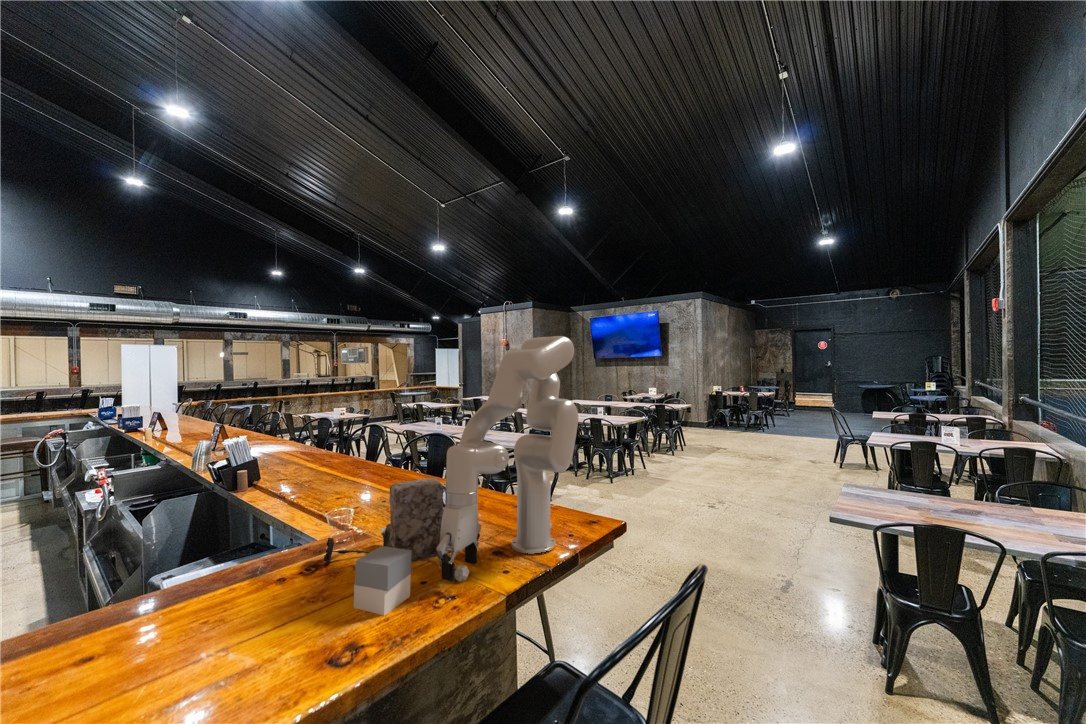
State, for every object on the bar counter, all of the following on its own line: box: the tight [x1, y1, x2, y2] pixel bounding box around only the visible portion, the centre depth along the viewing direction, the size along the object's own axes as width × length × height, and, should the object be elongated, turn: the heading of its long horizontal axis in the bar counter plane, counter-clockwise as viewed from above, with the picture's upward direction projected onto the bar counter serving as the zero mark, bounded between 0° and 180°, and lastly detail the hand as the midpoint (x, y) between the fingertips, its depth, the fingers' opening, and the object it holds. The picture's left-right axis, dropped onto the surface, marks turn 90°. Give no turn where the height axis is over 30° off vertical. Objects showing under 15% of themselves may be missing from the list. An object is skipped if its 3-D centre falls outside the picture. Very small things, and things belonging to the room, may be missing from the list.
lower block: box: [353, 574, 411, 616], centre depth 91 cm, size 8×8×5 cm
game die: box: [454, 564, 470, 583], centre depth 101 cm, size 4×4×3 cm
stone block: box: [388, 478, 445, 563], centre depth 113 cm, size 13×7×20 cm, turn 128°
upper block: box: [354, 545, 412, 591], centre depth 91 cm, size 8×8×5 cm
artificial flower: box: [323, 523, 391, 566], centre depth 116 cm, size 9×22×10 cm, turn 121°
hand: (459, 571), depth 100 cm, fingers open, 9 cm apart
